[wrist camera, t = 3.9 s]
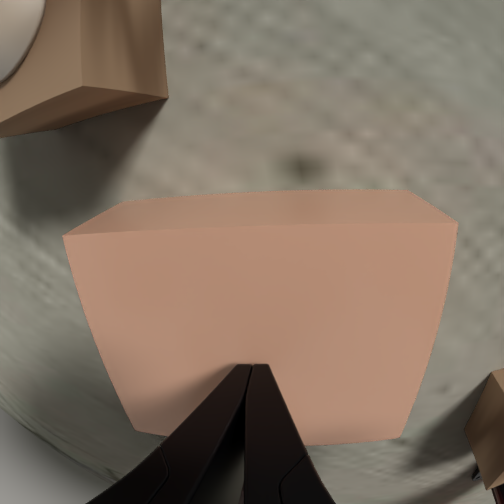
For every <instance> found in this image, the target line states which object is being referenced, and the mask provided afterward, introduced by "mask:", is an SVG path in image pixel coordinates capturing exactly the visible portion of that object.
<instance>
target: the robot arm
mask: <svg viewBox="0 0 504 504" xmlns="http://www.w3.org/2000/svg"><path fill="white" fill-rule="evenodd" d="M160 446H161V447H159V446H158V447H157V448H156V449H155V450H154V451H153V452H152V453H151V454H150V455H149V456H148V457H147V458H146V459H144V460H143V461H142V462H141V463H140V464H139V465H138V466H137V467H136V468H134V469H133V470H132V471H131V472H129V473H128V474H127V475H126V476H124V477H123V478H122V479H120V480H119V481H118V482H116V483H115V484H113V485H112V486H111V487H109V488H108V489H106V490H105V491H104V492H103V493H101V494H100V495H98V496H96V497H95V498H93V499H92V500H91V501H89V502H88V503H86V504H238V503H239V499H240V495H241V491H242V486H243V482H244V504H336V503H335V502H334V500H333V499H332V497H331V496H330V494H329V492H328V491H327V489H326V488H325V486H324V484H323V483H322V481H321V479H320V477H319V475H318V473H317V471H316V469H315V467H314V465H313V463H312V461H311V459H310V456H309V455H308V452H307V450H306V448H305V446H304V443H303V441H302V439H301V437H300V434H299V432H298V430H297V428H296V425H295V423H294V421H293V419H292V416H291V414H290V412H289V410H288V407H287V405H286V403H285V400H284V398H283V396H282V394H281V391H280V389H279V387H278V384H277V382H276V380H275V377H274V375H273V373H272V370H271V368H270V366H269V364H266V363H264V364H254V365H252V364H237V365H235V367H234V368H233V369H232V370H231V371H230V372H229V373H228V374H227V375H226V376H225V377H224V379H223V380H222V381H221V382H220V383H219V384H218V385H217V386H216V387H215V388H214V389H213V390H212V392H211V393H210V394H209V395H208V396H207V397H206V398H205V399H204V400H203V401H202V402H201V403H200V404H199V405H198V406H197V407H196V408H195V410H194V411H193V412H192V413H191V414H190V415H189V416H188V417H187V418H186V419H185V420H184V421H183V422H182V423H181V424H180V425H179V426H178V427H177V428H176V429H175V430H174V431H173V432H172V433H171V434H170V435H169V436H168V437H167V438H166V439H165V440H164V441H163V442H162V443H161V444H160ZM481 478H482V476H481V473H480V470H479V468H478V469H477V470H476V472H475V473H474V474H473V475H472V480H473V481H476V480H479V479H481ZM491 489H492V493H493V496H494V499H495V502H496V504H504V483H503V484H501V485H498V486H496V487H494V488H491Z"/></svg>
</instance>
